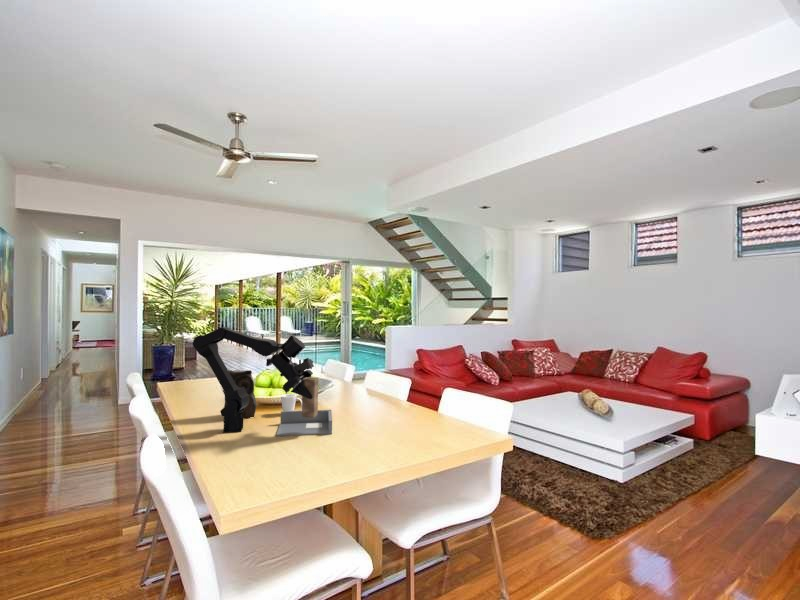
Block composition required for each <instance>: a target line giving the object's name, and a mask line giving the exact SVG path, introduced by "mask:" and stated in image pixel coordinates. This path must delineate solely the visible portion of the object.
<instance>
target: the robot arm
mask: <svg viewBox="0 0 800 600" xmlns="http://www.w3.org/2000/svg"><path fill="white" fill-rule="evenodd" d="M223 340H227V341H230V342H233V343H236V344H239V345H242V346H245V347H247V348H250V349H252V351H254V352H255V353H257V354H259V355H260V356H263V357H269V356H271V357H269V358H266V363H265V364H266V365H265V366H266V367H269V366H271V365H273V367H275V369H276V370H278V372H279V373H280V374H279V376H280V377H284V378H285V379H286V382H285V383H284V384H283V385H282V390H283V391H284V392H285V394H288V393H289V392H290V393H292V394H295V395H299V396H301V397H302V396H304V397H306V398H308V399H312V398H313V397H312V395H311V394H310V392H309V391H308V389H307V388H306V387H305V380H303V379H304V378H306V377H312V376H313V374H314V373H313V371H311V368H314V367H315V366H314V361H313V360H312V359H311V358H309V357H307V358H304V359H303V360H302V362H301V363H299V364H298V363H297V362H293V361H292V360H291V359H295V358H296V357H297V356H298V355H299V354H300V353H301V352H302V351H304V349H305V348H306V345H305V344H304V342H303V341H302V340H300V339H298V338H297V337H296V336H294V335H293V334H292V335H290V336H289V337H288V339H286V341H285V342H284V343H279V342H277V341H276V340H274V339H271V338H270V339H269V338H259V337H255V336H252V335H249V334H246V333H243V332H240V331H237V330H236V329H235V330H234V329H231V328H229V327H227V326H223V327H219V328H217V329H215V330H212V331H211V332H209V333H206V334H202V335H201V334H199V335H197V336H195V337H194V339H193V341H192V346H193V347H192V348H194V350H195V351H196V353H197V354H198V355H200V356H202V357H203V358H204V359H205V360H206V361H207V364H208V365H209V367H210V368H211V371H212V372H213V374H214V376H215V377H216V379H217V381H218V383H219V385H220V386H221V389H222V391H223V390H224V393H225V395H224V403H225V402H226V404H227V405H226V406H225V407H224V406H223V408H222V409H221V410H220V415H221V417H223V429H222V433H223V434H224V433H225V434H226V433H227V434H229V433H237V432H239V433H240V432H242V430H243V429H244V419H243V418H244V417H243V416H242V412H243V411H244V409H245V407H246V406H247V405H248V404H249V397H248V396H249V394H247V392H246V390H245V388H244V387H242V388H239V387H238V386H237V385H236V384H235V382H234V380H233V378H232V377H231V375H230V373H229V371H228V368H227V366H226V364H225V362H224V361H223V359H222V357H221V356H220V353H219V345H218V343H220V342H222V341H223ZM279 351H280V352H279ZM277 352H279V353H277ZM272 355H273V356H272ZM224 393H223V394H224Z"/></svg>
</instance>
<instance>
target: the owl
mask: <svg viewBox="0 0 800 600" xmlns="http://www.w3.org/2000/svg"><path fill="white" fill-rule="evenodd" d="M227 370H228V369H227ZM228 371H229V373H230V375H231V377H232V378H233V380H234V382H235V384H236V385H237V386H238V387H239V388H242V387H244V388H245V390H246V392H247V394H249V396H248V397H249V404H248V405H247V406H246V407H245V409H244V411H243V412H242V416H243V417H244V418H246V419H251V418H250V417H254V416H255V415H256V410H257V401H256V395H255V393H254V392H255V381H254V379H253V378H254V376H253V375H252V373H253V372H252V370H249V369H248V370H243V369H242V370H240V369H239V370H238V369H237V370H236V369H234V370H230V369H229V370H228ZM222 392H223V395H224V396H225V393H224V390H223V389H222ZM226 405H227V404H226V402H225V401H224V406H223V408H224V407H225V406H226ZM254 418H255V417H254Z"/></svg>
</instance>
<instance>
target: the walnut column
mask: <svg viewBox="0 0 800 600" xmlns="http://www.w3.org/2000/svg"><path fill="white" fill-rule="evenodd" d="M303 380H305V387H306V388H307V389H308V391H309V392H310V394H311V395H312V397H313V398H312V399H308V398H306V397H304V396H301V400H302V409H301V411H302V417H307V418H314V417H315V416H317V415H318V410H319V407H318V406H319V405H318V404H319V377H313V376H311V377H306V378H304V379H303Z"/></svg>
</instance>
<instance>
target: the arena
mask: <svg viewBox="0 0 800 600" xmlns="http://www.w3.org/2000/svg"><path fill="white" fill-rule="evenodd" d="M312 434H321V435H332V434H333V414H332V409H318V415H317V416H315V417H314V418H307V417H302V410H300V411H299V410H294V411H283V410H281V411H280V423H279V426H278V429H277V431H276V434H275V436H276V437H289V436H290V435H296V436H313V435H312ZM290 437H291V436H290Z"/></svg>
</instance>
